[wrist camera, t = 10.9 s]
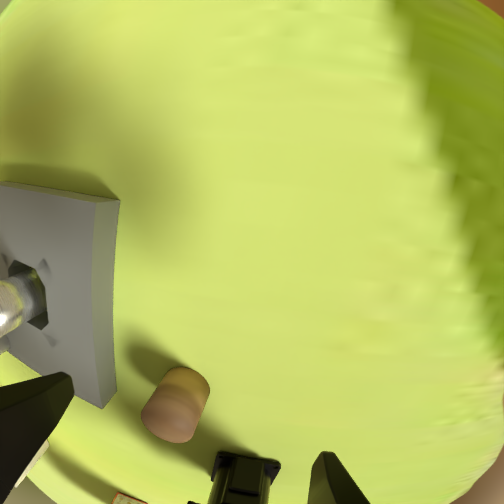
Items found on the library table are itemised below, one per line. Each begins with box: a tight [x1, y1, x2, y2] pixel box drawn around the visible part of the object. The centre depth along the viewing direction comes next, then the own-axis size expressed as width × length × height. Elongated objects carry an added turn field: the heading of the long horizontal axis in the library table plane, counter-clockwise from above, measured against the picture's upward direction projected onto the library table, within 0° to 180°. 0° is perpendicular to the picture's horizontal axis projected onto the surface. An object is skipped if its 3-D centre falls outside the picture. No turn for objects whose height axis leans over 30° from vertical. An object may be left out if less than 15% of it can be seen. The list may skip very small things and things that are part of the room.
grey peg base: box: [0, 181, 120, 409], centre depth 17 cm, size 18×16×9 cm
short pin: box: [141, 367, 210, 443], centre depth 19 cm, size 4×4×5 cm
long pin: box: [0, 268, 47, 337], centre depth 17 cm, size 4×4×9 cm
